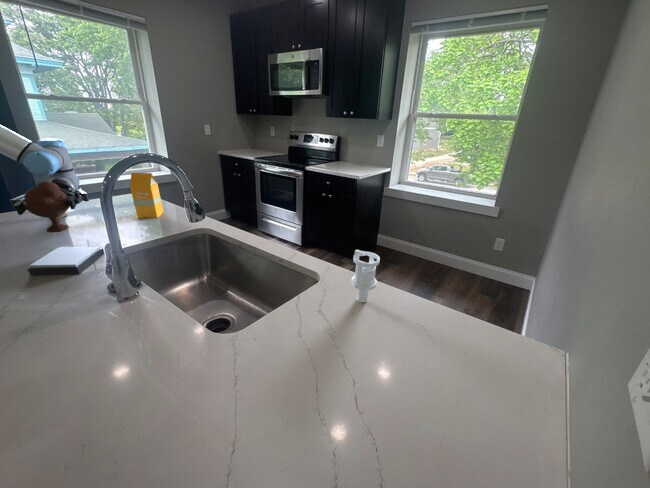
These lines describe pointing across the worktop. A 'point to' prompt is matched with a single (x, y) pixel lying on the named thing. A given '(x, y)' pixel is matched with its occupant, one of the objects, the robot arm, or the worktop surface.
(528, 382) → the worktop surface
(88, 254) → the scale
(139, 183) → the orange juice
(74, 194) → the robot arm
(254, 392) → the worktop surface
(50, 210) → the ice cream bowl
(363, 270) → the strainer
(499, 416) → the worktop surface
